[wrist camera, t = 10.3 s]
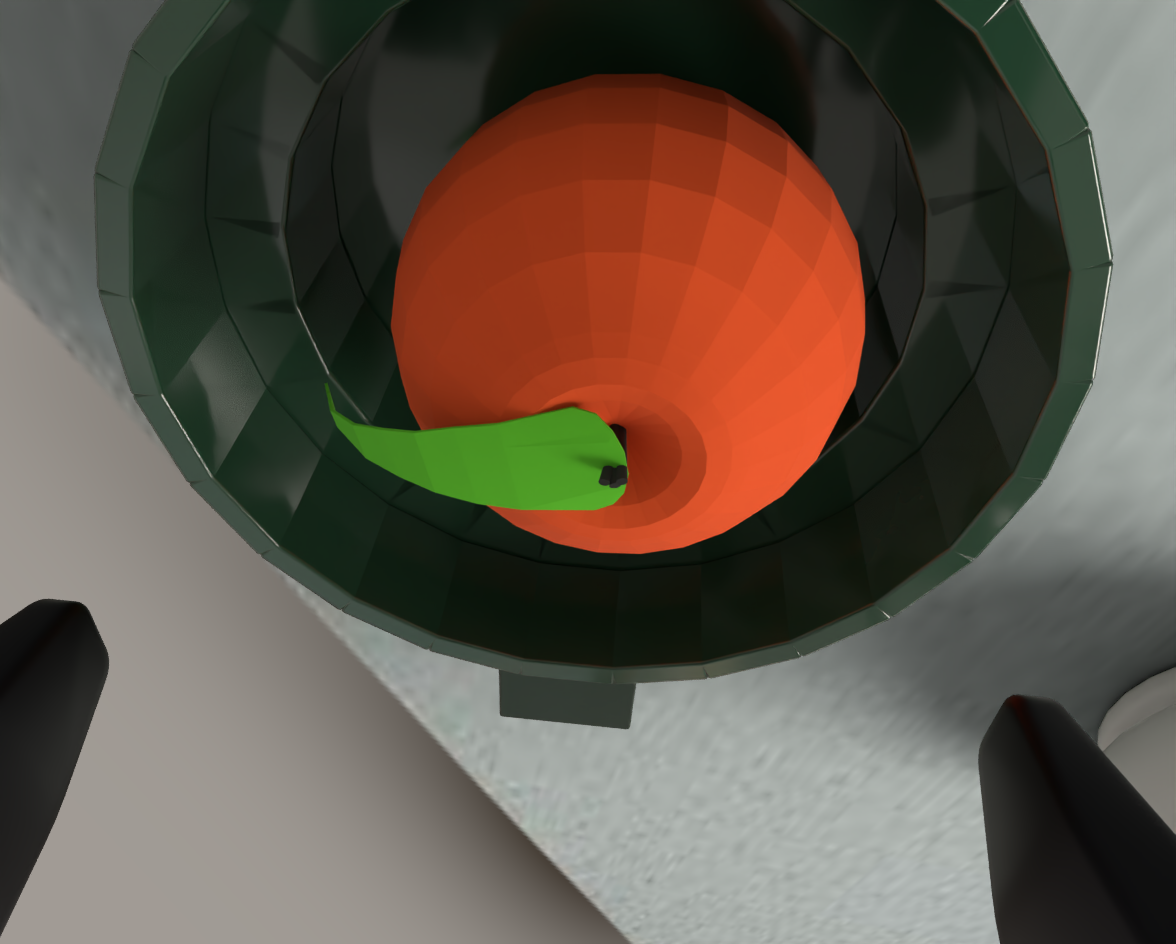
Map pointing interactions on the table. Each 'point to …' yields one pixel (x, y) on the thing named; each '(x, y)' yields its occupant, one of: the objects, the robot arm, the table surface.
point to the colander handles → (566, 700)
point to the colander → (371, 255)
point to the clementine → (622, 317)
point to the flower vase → (1146, 741)
